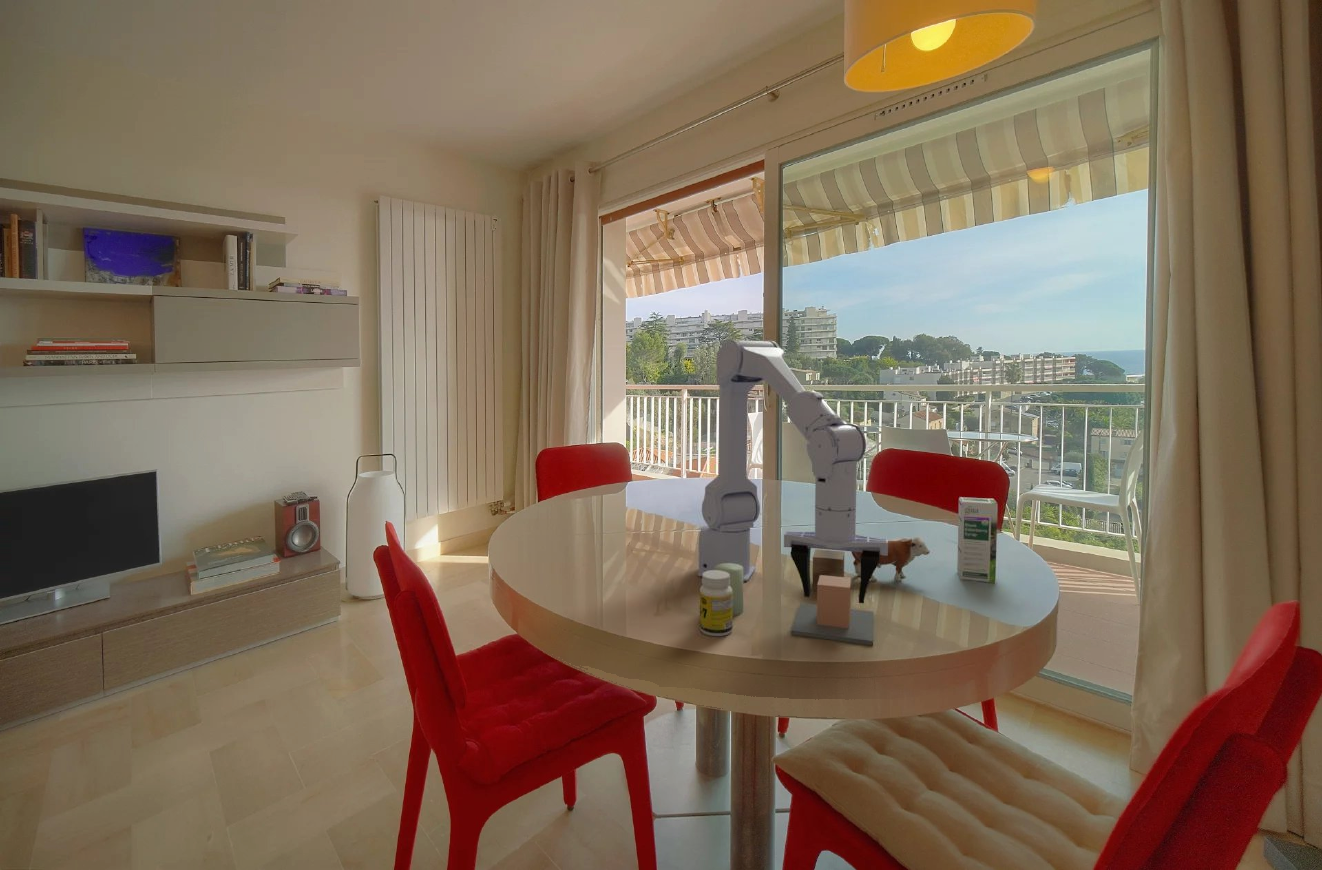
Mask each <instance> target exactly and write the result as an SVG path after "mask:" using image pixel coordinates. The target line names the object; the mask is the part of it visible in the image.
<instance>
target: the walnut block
mask: <svg viewBox="0 0 1322 870" xmlns="http://www.w3.org/2000/svg"><path fill="white" fill-rule="evenodd" d="M820 575H825V576H835V577H845V551H841V550H829V549H817V548H814V551H813V555H812V583H811V584H812V588H811V589H812V591H813V592H817V584H818V580H819V577H820Z"/></svg>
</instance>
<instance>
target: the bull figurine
mask: <svg viewBox="0 0 1322 870" xmlns="http://www.w3.org/2000/svg"><path fill="white" fill-rule="evenodd" d="M850 552H851V555H852V557H853V558H854V561H853V566H854V574H856V575H857V576H858V577H860V578H861V552H853V551H850ZM930 553H931V550H930V549H929V548H928V547H927V545H926V542H925V541H924V540H922V538H920V536H914V538H910V537H907V536H904V537H901V538H894V539H890V540H889V539H888V556H885V555H880V554H879V563H878V565H877V567H876V568H878V569H881V567H882V566H885V565H892V566H894V567H895V574H894V577H893V579H894V580H896V582H902V578H903V579H905V578H906V575H905V574H904V572H903V568H904V567H905V566H908V565H909V564H910V563H911V562H913V560H915V558H916V557H920V556H922V555H925V556H927V555H929V554H930ZM870 581H872V582H877V581H878V580H877V578H876V577H875V575H873V574H872V576H871V579H870Z"/></svg>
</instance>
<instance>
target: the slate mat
mask: <svg viewBox="0 0 1322 870" xmlns="http://www.w3.org/2000/svg"><path fill="white" fill-rule="evenodd" d="M790 634H791V635H792V636H798V637H799V636H801V637H807V638H814V639H815V638H816V639H823V640H830V641H839V642H845V643H854V644H862V645H867V646H868V645H869V646H874V611H872V610H871V611H870V610H864V609H863V610H862V609H855V608H854V609H853V608H851V611H850V626H849V628H840V627H832V626H824V625H817V604H808V603H799V607H798V610H797V613H796V615H795V618H794V621H793V624H792V627H791V630H790Z"/></svg>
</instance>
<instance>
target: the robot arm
mask: <svg viewBox="0 0 1322 870" xmlns="http://www.w3.org/2000/svg"><path fill="white" fill-rule="evenodd" d="M784 352H785V351H784V350H783V349H782V348H781V347H780V346H779V344H778V343H777V342H776V341H774V340H741V339H739V340H738V339H737V340H736V339H731V338H729V339H726V340H725V341H724V342H723V343H722V345H721V346H720V347H719V349H718V350H717V352H716V384H717V386H718V387H719V389H718V390H719V391H718V392H719V393H718V394H719V395H718V468H717V469H718V472H717V473H718V475H717V476H716V477H715V478H713V479H712V480H711V481H710V482H709V483H707V485H706V486H705V488H704V496H703V501H702V504H701V515H702V518H703V520H704V522H705V524H706V525H703V526H701V529H700V531H699V536H698V572H697V577H702V574H703V573H704V572H706V571H710V570H715V566H716V565H719V564H723V563H733V564H738V565H741V566H743V582H747V581H749V579H750V578H751V576H752V575H753V574H754V573H755V570H756V566H755V565H754V566H753V565H751V528H754V523H755V522H757V520H758V519H759V516H760V512H761V505H760V501H759V497H758V487H757V485H756V483H754V482H752V481H751V480H750V479H749V478H748V477H747V474H748V472H747V471H748V424H749V423H748V422H749V421H748V420H749V419H748V415H749V413H748V412H749V411H748V410H749V393H750V392H751V391H752V390H753V388H754V387H755V386H757V385H759V384H761V383H762V382H765V383H766V384H767V385H768V386H769V387H770V388H771V389H772V390H773V391H774V392H775V394H777V395H778V396H779V397H780V398H781V400H783V401H784V403H785V404H786V405H787V406H786V411H785V412H786V415H787V417H788V419H789V420H790V421H791V422H792V424H793V425H794V426H795V427H796V429H797V430H798V431H799V432H800V433H801V435H802V436H803V437H804V439H805V440H806V441H807V442H808V443H807V444H806V452H807V456H808V457H809V459H810V461H811V472H812V474H813V477H815V485H814V486H815V488H814V489H815V491H814V492H815V493H814V494H815V495H814V497H815V499H814V504H815V505H814V531H785V533H784V534H783V548H791V549H790V552H789V553H790V556H791V559H792V561H793V563H794V565H795V568H796V569H797V572H798V575H799V577H800V581H801V585H802V589H803V595H804V596H803V597H805V598H810V595H811V589H812V588H811V584H812V583H811V573H810V572H811V564H810V563H811V550H812V549H818V550H831V551H843V552H851V551H853V552H861V577H860V582H859V591H858V603H859V604H864V603H865V596H866V594H867V589H868V586H869V582H870V581H871V576H872V575H873V574H874V572H875V570H876V568H878V567H877V565H878V563H879V554H880V555H885V556H888V540H889V539H888V538H881V537H880V538H878V537H871V536H866V535H860V534H859V535H858V534H856V526H857V525H856V523H857V522H856V521H857V520H856V517H857V478H858V477H857V473H858V471H857V468H858V466H857V464H858V462H860V461H861V460H862V459H863V458H864V456H865V454H866V450H867V439H866V437H865V434H864V432H863V431H862V430H861V427H860V426H859V425H857V424H855V423H847V422H846V421H845V420H842V418H841V416H840V415H839V414H838V413H837V414H836V412H835V411H834V410H833V409H832V408H831V407H830V406H829V405H828V404H827V402H826V401H825V400H824V395H823V394H822V392H820V391H819V392H817V391H815V390H809V389H808V390H806V389H805V388H804V387H803V385H802V384H801V383H800V381H799V380H798V378H797V377H796V375H795V374H794V373H793V370H791V368H790V367H789V366H788V364H787V363H786V361H785V353H784Z"/></svg>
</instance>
